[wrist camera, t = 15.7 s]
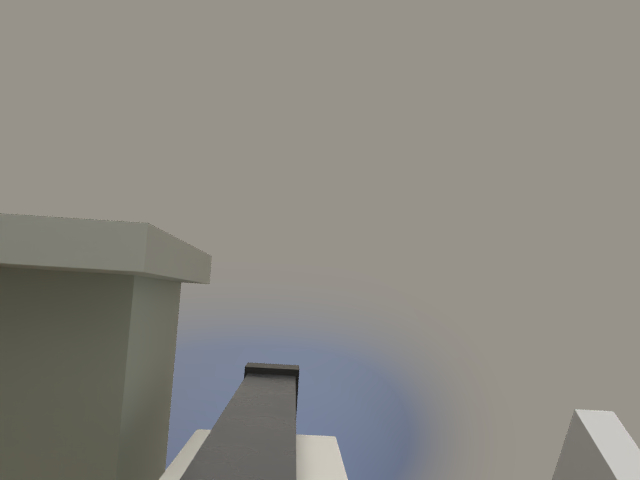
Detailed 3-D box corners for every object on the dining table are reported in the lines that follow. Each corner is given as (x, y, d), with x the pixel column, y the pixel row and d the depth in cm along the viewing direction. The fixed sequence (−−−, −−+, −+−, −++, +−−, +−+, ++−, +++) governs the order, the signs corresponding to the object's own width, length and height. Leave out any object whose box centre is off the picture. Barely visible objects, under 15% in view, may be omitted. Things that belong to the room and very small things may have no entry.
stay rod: (296, 653, 13) (306, 493, 13) (141, 647, 13) (155, 486, 13) (295, 417, 39) (298, 365, 39) (244, 414, 39) (248, 362, 39)
